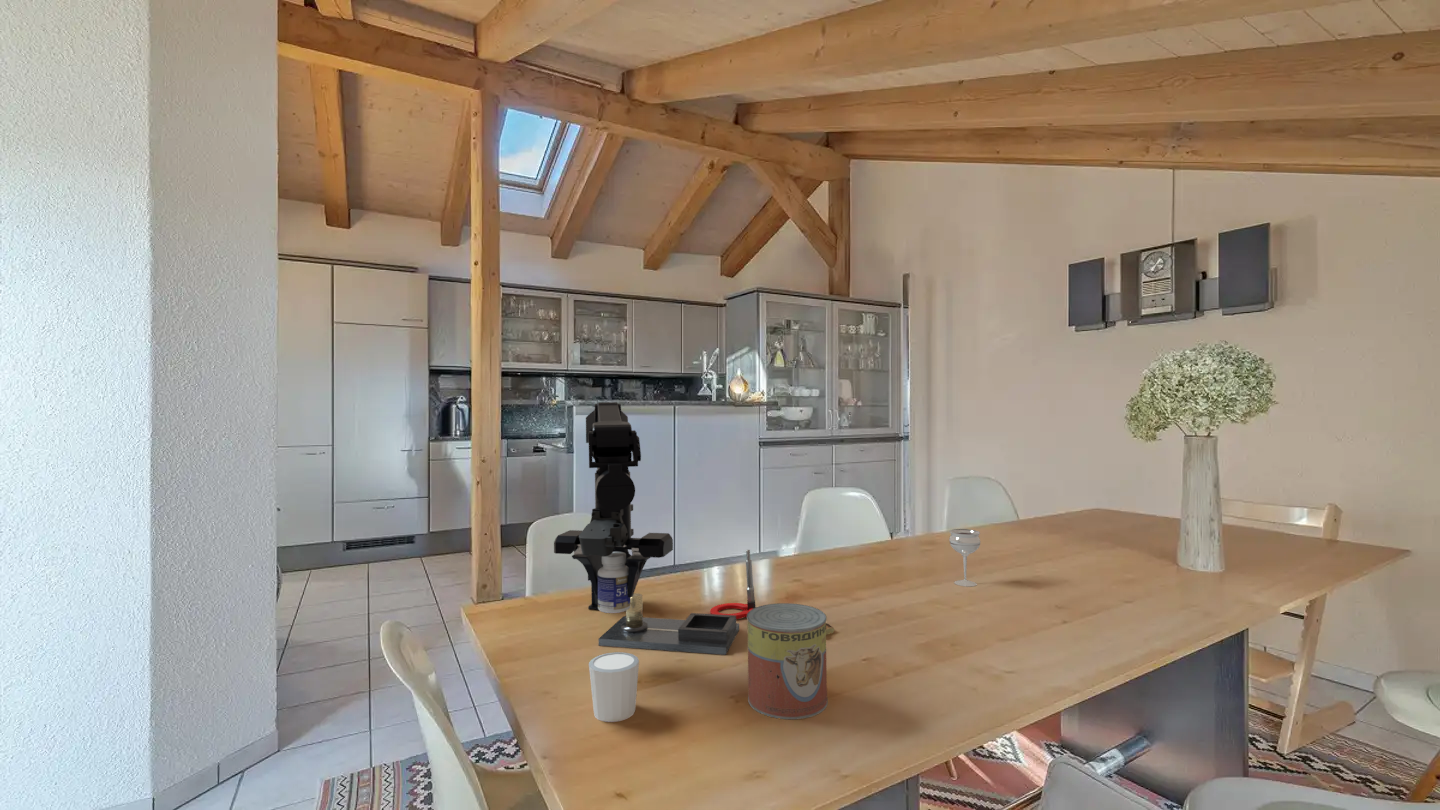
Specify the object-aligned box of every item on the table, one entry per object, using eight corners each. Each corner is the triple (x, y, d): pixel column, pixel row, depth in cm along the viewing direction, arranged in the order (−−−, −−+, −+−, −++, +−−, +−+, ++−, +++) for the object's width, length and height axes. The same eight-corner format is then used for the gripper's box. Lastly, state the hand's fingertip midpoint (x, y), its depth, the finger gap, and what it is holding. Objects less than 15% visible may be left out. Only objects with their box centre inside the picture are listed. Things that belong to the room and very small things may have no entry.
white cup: (592, 701, 89) (591, 652, 89) (640, 698, 90) (640, 650, 90) (586, 725, 82) (585, 672, 82) (638, 722, 83) (637, 670, 83)
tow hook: (708, 622, 122) (756, 620, 122) (704, 557, 123) (751, 554, 122) (711, 609, 131) (755, 607, 130) (707, 547, 131) (751, 545, 130)
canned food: (771, 726, 81) (770, 634, 82) (735, 691, 92) (733, 609, 92) (843, 709, 86) (842, 622, 86) (801, 677, 96) (800, 599, 96)
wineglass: (953, 587, 142) (952, 534, 142) (947, 578, 149) (946, 528, 149) (984, 588, 141) (983, 535, 141) (977, 579, 148) (976, 529, 148)
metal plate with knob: (598, 645, 110) (598, 604, 110) (623, 622, 122) (623, 585, 122) (725, 654, 105) (725, 612, 105) (739, 629, 117) (738, 591, 117)
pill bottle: (620, 615, 99) (619, 559, 99) (591, 612, 100) (591, 556, 100) (636, 605, 104) (635, 551, 104) (608, 602, 105) (608, 549, 105)
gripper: (536, 507, 96) (537, 608, 96) (651, 510, 92) (652, 615, 92) (568, 496, 107) (570, 587, 107) (673, 498, 103) (674, 593, 103)
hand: (614, 596), depth 102 cm, fingers closed on pill bottle, 5 cm apart
